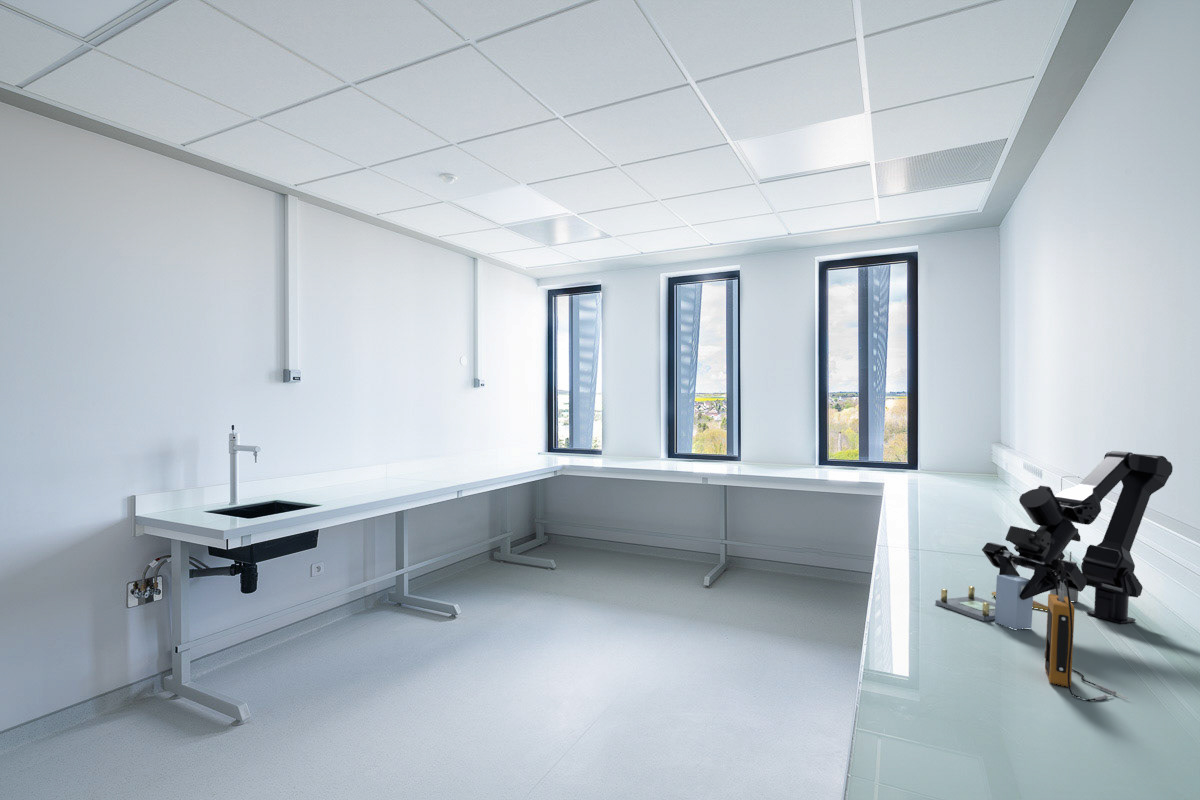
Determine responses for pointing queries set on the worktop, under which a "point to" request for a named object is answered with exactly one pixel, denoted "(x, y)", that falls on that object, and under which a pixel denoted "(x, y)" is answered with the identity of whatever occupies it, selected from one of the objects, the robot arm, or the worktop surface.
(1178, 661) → the worktop surface
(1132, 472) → the robot arm
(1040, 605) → the shard
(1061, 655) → the multimeter
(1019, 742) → the worktop surface
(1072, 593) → the power adapter
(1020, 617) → the block
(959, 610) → the chassis plate
